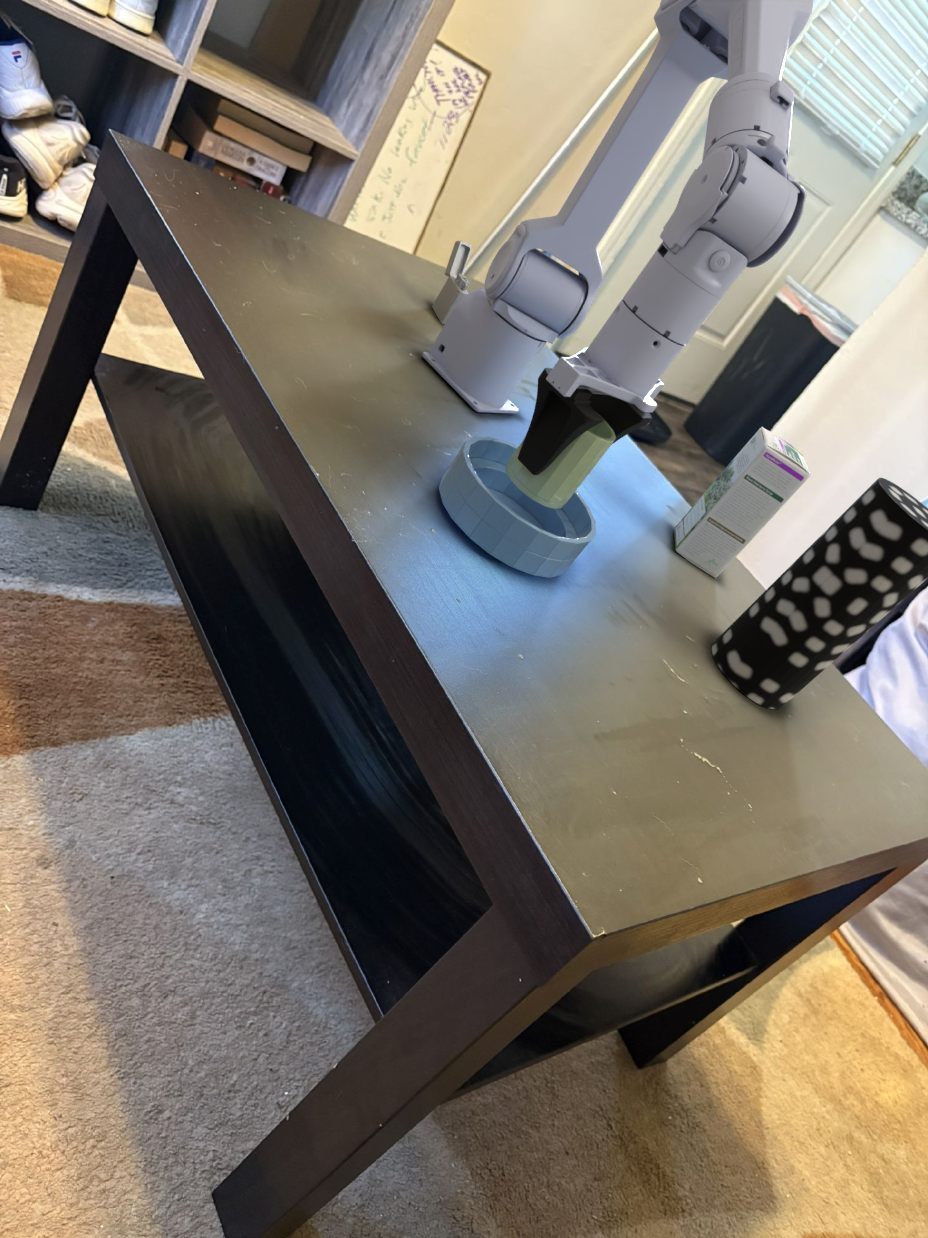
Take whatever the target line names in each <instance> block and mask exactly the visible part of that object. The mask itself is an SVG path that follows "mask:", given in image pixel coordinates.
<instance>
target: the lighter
mask: <svg viewBox="0 0 928 1238" xmlns="http://www.w3.org/2000/svg"><path fill="white" fill-rule="evenodd" d="M472 250H473V246H472V245H471V244H470V243H467V242H465V241H463V240H456V241H454V244H453V247H452V250H451V254H450V256H449V259H448V263H447V265H446V268H445V272H444V275H445V276H446V277H448V278H447V279H446V281H445V283H444V285H443V287H442V288H441V290H440V292H439V293H438V295H437V297H436V299H435V301H434V302H433V303H432V306H431V308H432V309H433V311H434V313H435V315H436V317H437V319H438V320H439V323H441V324H442V325H445V323H446V321H447V320H448V318H449V316H450V315H451V313H452V311H453V310H454V308H455V307H456V305H457V304H458V303H459V302H460V301H461V299H462V298H464V297H465V296H466V295H467V294H468V293H469V291H468V288H469V287H470V284H471V283H470V281H469V280H468V278H467V277H466V276H465V275H464V274H465V271H466V267H467V265H468V262H469V259H470V256H471V253H472Z"/></svg>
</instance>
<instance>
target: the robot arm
mask: <svg viewBox="0 0 928 1238" xmlns="http://www.w3.org/2000/svg"><path fill="white" fill-rule="evenodd" d="M814 2H815V0H660V3H659V6H658V8H657V10H656V12H655V13H654V16H653V20H654V23H655V26H656V28H657V32H658V34H659V39H658V41H657V44H656V46H655V48H654V49H653V52H652V54H651V56H650V58H649V59H648V62H647V63H646V66H645V67H644V68H643V71H641V74H640V76H639V77H638V79H637V81H636V83H635V84H634V86H633V87H632V89H631V90H630V92H629V94H628V95H627V97H626V99H625V101H624V103H622V106H621V107H620V109H619V111H618V113H616V116H615V117H614V119H613V121H612V122H611V125H610V126H609V127H608V129H607V131H606V133H605V134H604V136H603V138H602V139H601V141H600V142H599V144H598V146H597V148H596V149H595V151H594V153H593V154H592V156H591V158H590V160H589V161H588V163H587V164H586V166H585V168H584V169H583V171H582V173H581V174H580V176H579V178H578V179H577V181H576V183H575V185H574V186H573V188H572V189H571V192H570V193H569V194H568V196H567V198H566V200H565V201H564V203H563V204H562V206H561V208H560V209H559V211H558V212H557V214H555V215H552V216H545V217H536V218H530V219H525V220H523V221H520V223H519V224H518V225H517V226H515V228H514V230H513V231H512V233H511V235H510V236H509V237H508V239H507V240H506V241H505V242H504V243H503V244H502V245H501V246H500V248H499V250H498V251H497V252H496V253H495V255H494V257H493V259H492V261H491V263H490V265H489V267H488V270H487V272H486V275H485V278H484V285H483V286H484V288H478V289H477V288H476V289H474V290H472V291H470V292H468V294H467V295H466V296H465V297H464V298H462V299H461V301H460V302H459V303H458V304H457V305H456V307H455V308H454V310H453V311H452V313H451V315H450V316H449V318H448V320H447V321H446V323H445V324H443V326H442V328H441V329H440V332H439V333H438V335H437V337H436V338H435V340H434V342H433V343H432V345H431V347H430V349H429V350H428V351H423V352H422V354H421V357H422V358H423V359H424V360H425V361H426V362H427V363H428V364H429V366H430V367H432V368H433V370H435V371H436V372H437V373H438V374H439V376H441V377H442V379H444V380H445V381H446V382H447V383H448V384H449V385H450V386H451V388H453V390H454V391H455V392H456V393H457V394H458V395H459V396H460V397H461V399H463V400H464V401H465V402H466V403H467V404H468V405H469V407H471V408H472V409H473V410H474V411H475V412H478V413H490V414H491V413H492V414H493V413H494V414H515V415H516V414H518V413H519V411H520V409H519V408H518V407H517V406H516V405H515V404H514V403H513V402H512V401H511V400H510V397H511V396H512V394H513V393H514V392H515V390H516V388H517V387H518V385H519V384H520V383H521V381H522V380H523V378H524V377H525V375H526V374H527V372H528V371H529V369H530V368H531V366H532V365H533V363H534V362H535V360H536V359H537V358H538V356H539V355H540V353H541V351H542V350H543V349H544V347H545V345H546V344H547V343H549V344H550V345H553V344H554V342H555V341H556V340H557V339H564V338H566V337H569V336H571V335H572V334H574V333H575V332H576V331H577V330H578V329H579V328H580V326H581V325H582V324H583V322H584V321H585V320H586V318H587V316H588V314H589V312H590V310H591V307H592V305H593V301H594V299H595V297H596V295H597V293H598V292H599V289H600V288H601V286H602V284H603V281H604V270H603V266H602V263H601V259H600V256H599V255H600V254H599V251H598V248H597V247H598V246H599V244H600V242H601V241H602V239H603V238H604V236H605V235H606V233H607V232H608V230H609V228H610V227H611V225H612V224H613V222H614V220H615V219H616V217H617V216H618V214H619V212H620V211H621V209H622V208H623V206H624V204H625V203H626V201H627V200H628V198H629V197H630V195H631V193H632V192H633V190H634V189H635V187H636V185H637V184H638V182H639V181H640V179H641V178H642V176H643V175H644V174H645V171H646V170H647V168H648V166H649V165H650V164H651V162H652V160H653V159H654V157H655V155H656V154H657V152H658V151H659V149H660V148H661V146H662V145H663V143H664V141H665V140H666V138H667V136H668V135H669V134H670V132H671V130H672V128H674V126H675V124H676V123H677V121H678V119H679V117H680V116H681V114H682V113H683V111H684V110H685V108H686V106H687V104H688V103H689V102H690V100H691V98H692V97H693V95H694V93H695V92H696V91H697V89H698V87H699V86H700V85H701V84H703V83H704V82H705V81H708V80H709V79H711V78H715V79H716V78H717V79H720V80H726V82H725V83H724V84H723V85H722V86H721V87H720V88H719V89H718V90H717V91H716V93H715V94H714V96H713V97H712V99H711V102H710V104H709V109H708V117H707V121H706V122H707V123H706V130H705V136H704V137H705V139H704V146H703V152H702V159H701V160H702V161H701V163H700V165H699V166H698V167H697V168H695V169H694V170H693V171H692V173H691V175H690V176H689V178H688V179H687V182H686V183H685V184H684V187H683V189H682V191H681V193H680V196H679V198H678V200H677V201H678V202H677V204H676V206H675V209H674V210H673V212H672V214H671V216H670V217H669V218H668V219H667V222H666V223H665V224H664V225H663V227H662V228H663V229H662V231H661V233H660V235H659V238H660V239H661V241H662V242H661V243H660V245H659V246H658V247H657V249H656V250H655V252H654V253H653V254H652V256H651V257H650V258H649V260H648V261H647V263H646V265H645V266H644V268H643V269H642V270H641V272H640V273H639V274H638V276H637V278H635V280H634V281H633V283H632V284H631V286H630V287H629V288H628V289H627V291H626V293H625V294H624V296H623V297H622V298H621V300H620V301H619V302H618V304H617V306H616V307H615V309H613V311H612V312H611V314H610V315H609V317H608V318H607V319H606V321H605V322H604V324H603V325H602V326H601V328H600V330H599V331H598V333H597V334H596V336H595V337H594V338H593V339H592V342H590V344H589V345H588V346H585V347H583V348H582V349H580V350H579V351H576V352H575V353H574V354H572V355H570V356H560V358H559V359H557V361H556V363H555V364H554V366H553V367H552V368H551V367H544V369H543V370H542V371H541V373H540V375H539V376H538V378H537V391H536V400H535V404H534V410H533V413H532V418H531V420H530V423H529V426H528V430H527V432H526V434H525V437H524V438H525V439H524V438H523V440H524V442H523V444H522V447H521V449H520V452H519V455H518V460H519V461H520V462H521V463H522V464H523V465H524V466H525V467H526V468H527V469H528V470H529V471H530V472H531V473H532V474H533V475H539V474H540V473H541V472H543V471H544V470H545V469H546V468H547V467H548V466H550V464H551V463H552V462H553V461H554V460H555V459H556V458H557V457H558V456H559V455H560V454H561V453H562V452H563V450H564V449H565V448H566V447H567V446H568V445H569V444H571V443H572V442H573V441H574V440H575V439H576V438H578V437H579V436H580V435H581V434H583V433H584V432H586V431H587V430H589V429H590V428H592V427H594V426H596V425H598V424H599V423H602V422H603V421H604V420H605V421H606V422H607V423H608V424H609V425H610V427H611V428H612V429H613V431H614V433H615V436H616V439H615V441H614V442H613V443H612V445H614V444H615V443H616V442H618V441H619V440H620V439H622V438H624V437H626V436H627V435H629V434H631V433H632V432H635V431H636V430H639V429H641V428H643V427H645V426H647V425H648V424H649V423H650V422H651V420H652V419H653V418H652V414H651V413H654V411H655V410H656V409H657V407H658V403H657V402H656V401H655V400H654V399H656V397H657V396H658V394H659V393H660V392H661V390H662V389H663V388H664V387H665V383H664V382H662V381H661V378H662V377H663V375H664V374H665V373H666V371H667V370H668V368H669V367H670V366H671V365H672V363H673V362H674V361H675V359H676V358H677V357H678V356H679V354H680V353H681V352H682V350H683V349H684V348H685V347H686V345H687V344H688V343H689V342H690V340H691V339H692V338H693V336H694V335H695V334H696V332H697V331H698V330H699V329H700V327H701V326H702V325H703V323H705V321H706V320H707V319H708V317H709V316H710V315H711V313H712V312H713V311H714V309H715V308H716V307H717V306H718V304H719V303H720V301H721V300H722V299H723V297H724V296H725V295H726V294H727V292H728V291H729V290H730V288H731V287H732V286H733V285H734V283H735V282H736V281H737V279H738V278H739V277H740V275H741V274H742V273H743V271H744V270H745V269H746V268H749V269H751V268H757V267H759V266H762V265H764V264H765V263H766V262H768V261H769V260H771V259H772V258H774V256H775V255H776V254H778V253H779V251H781V250H782V248H784V246H785V245H786V244H787V242H788V241H789V240H790V238H791V237H792V236H793V234H794V232H795V231H796V229H797V227H798V225H799V223H800V221H801V218H802V216H803V213H804V208H805V203H806V201H807V197H808V194H807V191H806V189H805V188H804V186H802V184H800V183H799V182H797V181H795V177H794V176H793V175H792V174H791V173H789V172H788V167H789V156H790V144H791V142H790V141H791V133H792V120H793V106H794V104H795V91H794V90H793V89H791V87H789V86H788V85H787V84H786V83H785V82H784V81H783V80H782V75H783V71H784V66H785V62H786V58H787V57H786V56H787V54H788V53H787V52H788V50H789V49H790V48H791V47H792V45H793V44H794V43H795V42H796V40H797V39H798V38H799V36H800V35H801V34H802V32H803V30H804V29H805V27H806V25H807V23H808V22H809V20H810V17H811V15H812V12H813V7H814ZM542 251H545V252H546V253H548V254H549V255H551V256H553V257H554V258H556V259H558V260H559V261H561V262H562V263H564V264H566V265H567V266H568V267H570V268H572V269H573V270H575V271H577V273H576V272H574V271H573V270H571V269H570V268H568V267H566V266H565V265H563V264H561V263H560V262H559V261H556V259H553V258H552V257H550V256H549V255H547V254H545V253H544V252H542ZM595 411H596V412H597V413H596V412H595Z"/></svg>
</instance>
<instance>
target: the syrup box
mask: <svg viewBox="0 0 928 1238" xmlns="http://www.w3.org/2000/svg"><path fill="white" fill-rule="evenodd" d="M811 476H812V473H811V472H810V469H809V467H808V464H807V462H806V460H805V457H804V454H803V453H801V452H800V451H799V449H797V448H795V446H793V445H792V444H790V443H789V442H788V441H786V440H785V439H784V438H782V437H781V436H779V435H777V434H775V433H774V432H772V431H770V430H768V429H766V428H765V427H764V426H761V427H759V429H758V430H757V431H756V432H755V433H754V435H753V436H752V437H751V438H750V439H749V440H748V441H747V442H746V444H745V445H744V446H743V447H742V448H741V449H740V451H739V452H738V453H737V454H736V455H735V456H734V458H733V459H732V460H731V461H730V462H729V463H728V465H726V467H725V468H724V469H723V471H722V472H721V473H720V474H719V475H718V476H717V478H715V480H714V481H713V482H712V483H711V484H710V486H709V487H708V488H707V489H706V490H705V492H704V493H702V495H701V496H700V497H699V498H698V500H697V501H695V502H694V504H693V505H692V507H691V508H690V509H689V510H688V512H687V513H685V515H684V516H683V517H682V519H680V521H678V523H677V525H675V526H674V527H673V534H674V535H673V536H674V549H675V552H676V553H678V554H679V555H680V556H681V557H683V558H684V559H685V560H686V561H688V562H689V563H690V564H692V565H694V566H696V567H697V568H698V569H700V570H702V571H704V572H705V573H706V574H708V575H710V576H711V577H713V578H714V579H717V578H718V577H719V576H720V575H721V574H722V572H723V571H724V570H725V569H726V568H727V567H728V566H729V565H730V564H731V563H733V561H734V560H735V559H736V558H737V557H738V556H739V554H740V553H741V552H742V551H743V550H744V549H745V548H746V547H747V546H748V544H750V543H751V541H752V540H754V538H755V537H756V536H757V535H758V534H759V533H760V532H761V530H763V528H765V526H766V525H767V524H768V523H769V522H770V521H771V519H772V518H774V517H775V515H777V513H778V512H779V511H780V510H781V509H782V507H783V506H784V505H785V504H786V503H787V502H788V501H789V500H790V499H791V498H792V497H793V496H794V494H796V493H797V492H798V490H799V489H800V488H801V487H802V486H803V485H804V484H805V483H806V482H807V480H809V478H810V477H811Z"/></svg>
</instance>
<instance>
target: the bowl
mask: <svg viewBox="0 0 928 1238" xmlns="http://www.w3.org/2000/svg"><path fill="white" fill-rule="evenodd" d="M518 447H519V446H518V445H515V444H512V443H511V442H508V441H506V440H502V439H499V438H496V437H492V436H473V437H472V438H469V439H468V440H466V441H464V443H463V445H462V447H461V448H460V450H459V451H458V453H457V454H456V455H455V457H454V459H453V460H452V461H451V463H450V465H449V466H448V467H447V469H446V471H445V472H444V474H443V475H442V477H441V479H440V483H439V486H438V490H439V494H440V498H441V502H442V504H443V506H444V508H445V510H446V511H447V513H448V514H449V515H448V516H450V518H451V520H453V522H454V523H455V524H456V525H457V526H458V527H459V529H461V531H462V532H463V533H464V534H465V535H466V536H467V537H468V538H469V539H470V540H471V541H472V542H474V543H475V544H476V545H477V546H479V547H480V548H481V549H482V550H484V551H485V552H486V553H487V554H489V555H490V556H492V557H493V558H495V559H496V560H498V561H500V562H501V563H503V564H505V565H507V566H509V567H510V568H513V569H515V570H518V571H519V572H523V573H525V574H528V575H531V576H535V577H540V578H541V577H543V578H550V579H551V578H555V577H559V576H563V575H564V574H565V573H566V572H567V570H568V569H569V568H570V567H571V566H572V565H573V563H574V562H575V561H576V560H577V558H578V557H579V556H580V554H581V553H582V552H583V551H584V550H585V548H586V547H587V546H588V545H589V544H590V543H591V541H592V540H593V539H594V537H595V536H596V535H597V522H596V519H595V518H594V515H593V513H592V511H591V509H590V506H589V505H588V504H587V503H586V501H585V500H584V499H583V497H582V496H581V494H579V492H578V491H577V490H576V491H575V492H574V494H573V495H572V496H571V498H570V499H569V500H568V501H567V503H566V504H565V505H564V506H563V507H562V508H560V509H553V508H549V507H546V506H543V505H541V504H539V503H537V502H536V501H534V500H532V499H531V498H529V497H528V496H527V495H525V494H524V493H523V492H522V491H521V490H519V489H518V488H517V487H516V486H515V484H514V483H513V482H512V481H511V479H510V478H509V476H508V474H507V472H506V464H507V463H508V462H509V460H510V458H511V457H512V455H513V454H514V452H515V451H516V450H517V448H518Z"/></svg>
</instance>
